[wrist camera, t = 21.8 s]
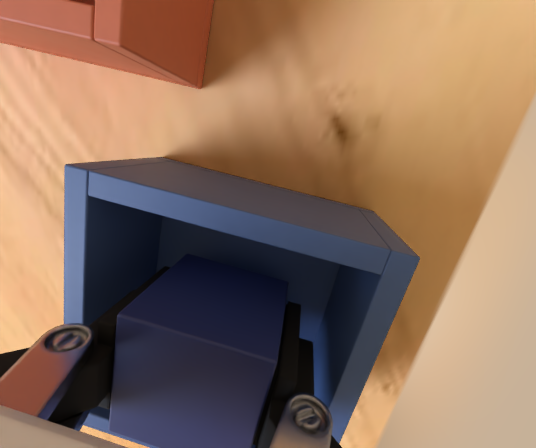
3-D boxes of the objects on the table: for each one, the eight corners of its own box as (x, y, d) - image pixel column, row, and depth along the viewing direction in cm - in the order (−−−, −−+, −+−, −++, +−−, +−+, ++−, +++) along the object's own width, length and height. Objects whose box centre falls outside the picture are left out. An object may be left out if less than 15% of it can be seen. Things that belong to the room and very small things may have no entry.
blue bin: (374, 211, 13) (420, 258, 7) (311, 383, 16) (313, 503, 11) (160, 156, 13) (63, 163, 8) (141, 331, 17) (62, 419, 11)
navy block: (289, 280, 11) (277, 363, 7) (265, 365, 12) (242, 477, 8) (186, 252, 11) (115, 313, 7) (173, 337, 13) (107, 432, 9)
